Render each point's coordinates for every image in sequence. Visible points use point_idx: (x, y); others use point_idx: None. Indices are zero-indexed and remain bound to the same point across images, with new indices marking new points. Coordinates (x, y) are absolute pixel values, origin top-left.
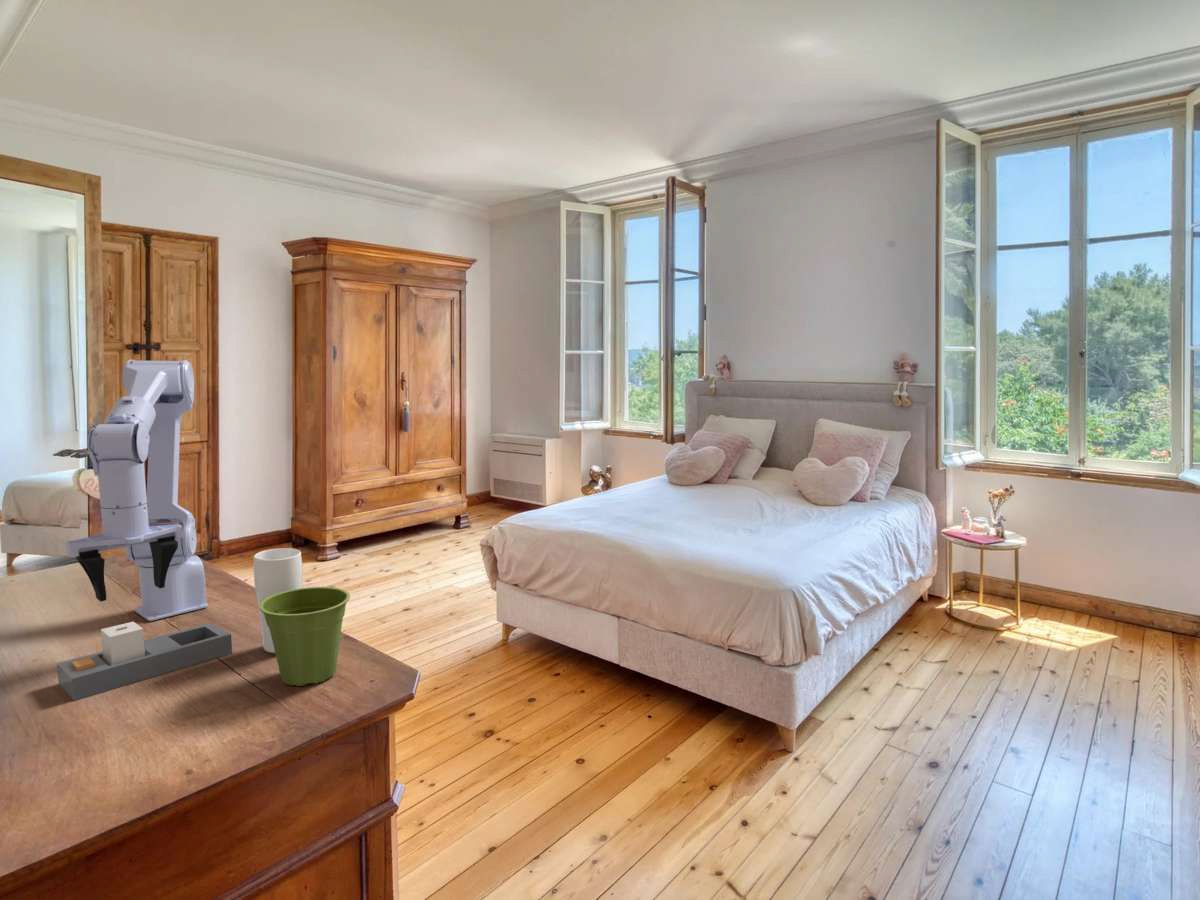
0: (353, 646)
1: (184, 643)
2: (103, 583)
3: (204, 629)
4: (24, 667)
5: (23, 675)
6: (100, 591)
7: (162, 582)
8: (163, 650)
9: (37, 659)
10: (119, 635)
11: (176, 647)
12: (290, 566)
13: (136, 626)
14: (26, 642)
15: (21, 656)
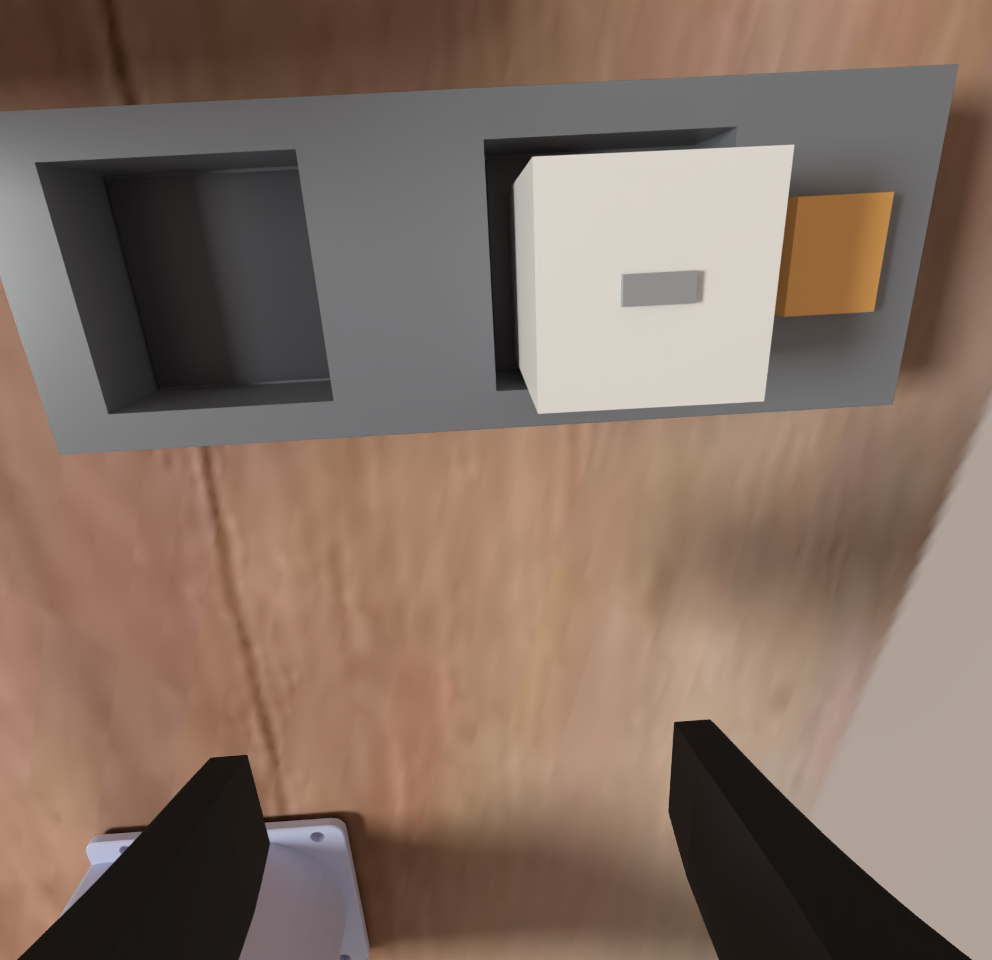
0: None
1: (263, 387)
2: (774, 854)
3: (122, 409)
4: (833, 654)
5: (868, 577)
6: (765, 781)
7: (197, 791)
8: (409, 152)
9: (773, 701)
10: (718, 148)
11: (328, 139)
12: None
13: (556, 265)
14: None
15: (798, 761)
